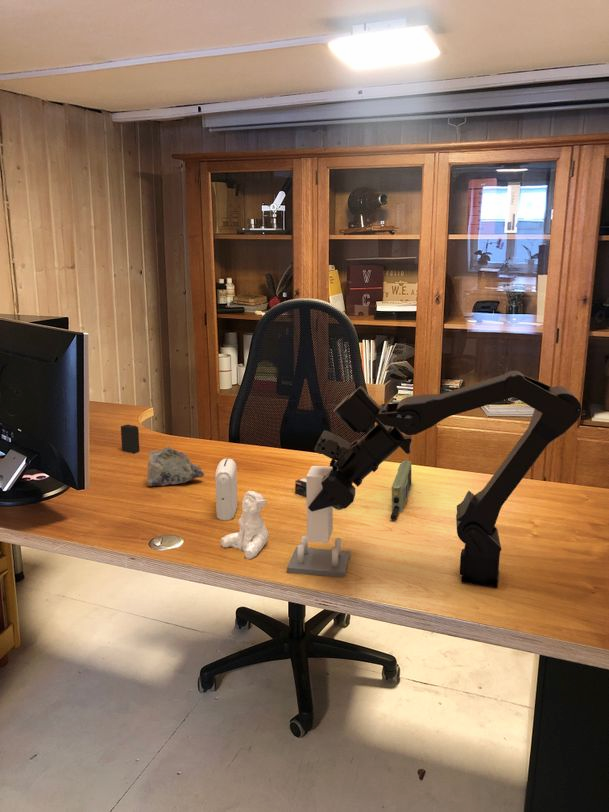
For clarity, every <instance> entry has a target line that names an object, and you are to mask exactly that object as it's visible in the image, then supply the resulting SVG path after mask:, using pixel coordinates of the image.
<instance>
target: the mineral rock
mask: <svg viewBox="0 0 609 812" xmlns="http://www.w3.org/2000/svg"><path fill="white" fill-rule="evenodd" d="M146 472H147V474H146V475H147V476H146V479H147V485H148V486H149V487H153V486H155V487H156V486H157V487H158V486H162V487H163V486H168V485H177V484H178V485H179V484H185V483H187V482H189V481H193V480H194V479H199V478H203V477H204V476H205V472H204V471H202V468H201V467H200V466H199V465H196V464H193V463H192V462H191V460H190V458H189V457H188V455H186V454H185V453H183V452H181V451H179V450H176V449H175V448H171V447H170V446H167V447H164V448H162V449H161V450H156V449H155V450H151V451H150V453H149V457H148V463H147V471H146Z"/></svg>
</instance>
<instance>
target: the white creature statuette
mask: <svg viewBox="0 0 609 812" xmlns="http://www.w3.org/2000/svg"><path fill="white" fill-rule="evenodd" d="M241 501H242V505H241V507H242V509H241V510H242V513H241V516H240V517H239V518H238V520H237V522H238V525H239V528H238V529H239V531H238V532H232V533H228V534H226V535H224V536H223V537H221V538H220V544H221V546H222V548H234V549H237V550H239V551H240V550H241V551H242V552H243V553H244V557H245V558H246V559H247V560H248V559H249V560H251V559H253V558H255V557H257V556H258V554H259V552H260V551H262V549H263V548H264V546H265V545H266V544H267V542H268V538H269V533H270V532H269V531H268V529H267V527H266V525H265V523H264V518H263V516H262V515H261V513H260V512H261V510H263V507H265V506H266V505H267V504H268V500H267V499H264V497H263V495H262V494H261V493H259V492H257V491H254V490H247V491H246V493H245V494H244V495H243V498H242V500H241Z"/></svg>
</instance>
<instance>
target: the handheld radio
mask: <svg viewBox="0 0 609 812" xmlns="http://www.w3.org/2000/svg"><path fill="white" fill-rule="evenodd" d="M411 487H412V461H411V460H401V463H400V464H399V466H398V469H397V474H396V475H395V478H394V480H393V482H392V485H391V515H390V520H392V521H395V520H396V519H397V518H398V517H397V516H398V513H402V512H403V510H404V508H405V505H406V503H407V499H408V497H409V493H410V490H411Z"/></svg>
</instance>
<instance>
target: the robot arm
mask: <svg viewBox="0 0 609 812" xmlns="http://www.w3.org/2000/svg"><path fill="white" fill-rule="evenodd" d="M512 398H515V399H516V400H518V401H520V402H522V403H524V404H525V405H528V406H529V407H531V408H533V409H534V410H533V413H532V415H531V419H530V421H529V424H528V426H527V428H526V430H525V432H524V433H523V434H522V436H521V437H520V438H519V439H518V441H517V442H516V443H515V445H513V447H512V449H511V450H510V452H509V454H508V455H507V456H506V457H505V459H504V460H503V461H502V463H501V464H500V465H499V467H498V468H497V469H496V471H495V473H494V474H493V475H492V477H491V478H490V480H488V482H487V483H486V485H485V486H484V487H483V489H481V490H480V491H478V492H477V493H475V494H474V493H473V492H471V490H468V491H467V492H466V494H465V496H464V498H463V500H462V501H461V502H460V503H458V504H457V505H456V515H455V521H456V534H457V537H458V539H459V540H460V541H461V542H463V544H464V546H463V549H461V552H460V559H459V572H458V573H459V575H460V576H461V579H460V582H461V583H462V584H468V585H474V586H481V587H486V588H487V587H488V588H494V589H497V588H498V587H499V580H500V571H501V570H500V559H501V551H502V544H501V540H500V536H499V531H498V528H497V527H496V524H497V521H498V518H499V515H500V511H501V509H502V507H503V505H504V504H505V503H506V501H507V500H508V499H509V497H510V496H511V495H512V493H513V492H514V491H515V489H516V488H517V487H518V485H519V484H520V482H521V481H522V480H523V479H524V477H525V476H526V475H527V473H528V472H529V471H530V469H531V468H532V466H533V465H534V464H535V463H536V462H537V460H538V459H539V457H541V455H542V454H543V452H544V450H545V449H546V448H547V446H548V445H550V443H551V442H553V441H555V440H556V439H558V438H560V437H561V436H563V435H564V434H565V433H566V432H567V431H568V430H569V429H570V428H571V427H572V426H573V425H574V424H576V423H577V422H578V421H579V420H580V417H581V415H582V411H583V410H582V405H581V403H580V401H579V400H578V397H576V395H575V394H574V393H573V392H572V391H571V390H570V389H568V388H567V387H564V386H560V385H555V386H550V385H548V384H546V383H544V382H542V381H539V380H537V379H534V378H533V377H529V376H526V375H525V374H523V373H522V372H521V371H518V370H509V371H507V372H506V373H504V374H501V375H497V376H495V377H492V378H489V379H485V380H481V381H478V382H476V383H473V384H470V385H466V386H463V387H460V388H457V389H456V388H455V389H453V390H450V391H446V392H443V393H436V394H435V393H434V394H433V393H430V394H429V393H428V394H420V395H410V396H406V397H404V398H402V399H401V400H399V402H389V403H382V404H380V405H379V404H378V403H377V402H376V401H375V399H373V398H372V397H371V396H370V394H369V393H368V391H367V390H366V389H365V387H363V386H361V385H360V386H359V387H358V388H357V389H355V390H354V391H353V392H351V394H348V395H347V396H346V397H344V398H343V399H342V401H341V402H339V404H337V406H336V407H335V408H334V409H333V412H334V413H335V415H337V417H338V418H339V419H340V420H341V421H342V422H343V423H344V424H345V425H346V426H347V427H348V428H349V430H351V431H352V432H353V433H358V434H360V433H361V434H365V435H364V436H362V438H360V439H359V438H358V439H354V441H352V443H351V442H349V441H348V440H346V439H344V437H343V438H342V437H340V436H338V435H337V434H336V433H335V434H334V433H333V432H330V431H328V430H323V431H322V433H321V435H320V437H319V438H318V441H317V442H316V444H315V446H314V451H315V453H317V454H319V455H323V456H326V457H327V458H329V459H331V460H330V462H329V467H333V470H331V471H330V472H329V473H328V474H327V475H326V476H324V477H323V479H322V482H321V484H322V490H321V491H320V492H319V493H318V495H317V496H316V497H315V499H314V500H313V501H312V503H311V504H310V505H309V507H308V508H309V509H310V510H311V511H316V510H320V509H324V508H327V507H331V506H336V505H341V506H342V507H344V509H347V508H348V507H349V506H350V505H351V504H352V503H353V502H354V500H355V499H356V487H358V488H359V486H360V485H362V483H363V480H364V479H365V478H366V477H367V476H368V475H369V474H370V473H375V472H376V471H378V469H379V466H380V465H381V464H382V463H383V462H384V461H385V460H386V459H388V458H389V457H390V456H391V455H392V454H393V453H394V452H396V450H398V449H399V448H401V450H402V451H403V452H405V454H407V455H409V454H410V453H411V449H412V448H411V447H412V444H411V443H412V441H413V437H412V436H415V435H418V434H419V433H422V432H424V431H426V430H428V429H430V428H432V427H434V426H436V425H437V424H438V423H440V422H441V421H443V420H445V419H447V418H449V417H452V416H455V415H459V414H462V413H466V412H468V411H472V410H475V409H478V408H482V407H485V406H489V405H493V404H495V403H498V402H502V401H505V400H508V399H512ZM375 423H376V425H375V426H374V427H372V426H373V425H374V424H375ZM371 427H372V429H371V430H370V431H368V430H369V429H370V428H371ZM367 431H368V432H367ZM365 432H367V433H365ZM353 484H355V486H356V487H355V486H354V485H353Z"/></svg>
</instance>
